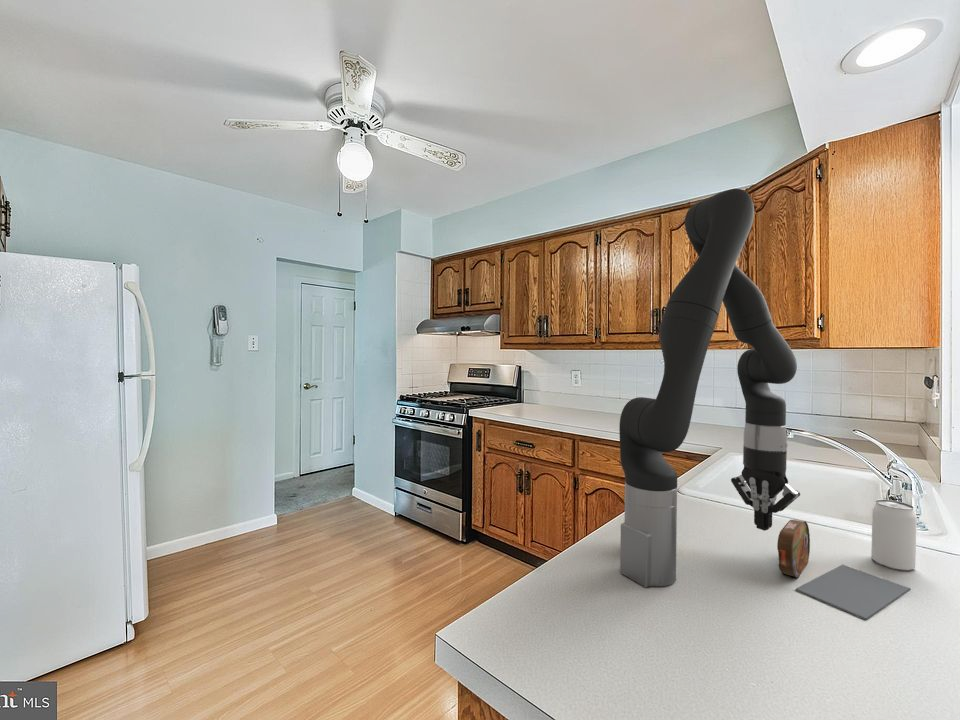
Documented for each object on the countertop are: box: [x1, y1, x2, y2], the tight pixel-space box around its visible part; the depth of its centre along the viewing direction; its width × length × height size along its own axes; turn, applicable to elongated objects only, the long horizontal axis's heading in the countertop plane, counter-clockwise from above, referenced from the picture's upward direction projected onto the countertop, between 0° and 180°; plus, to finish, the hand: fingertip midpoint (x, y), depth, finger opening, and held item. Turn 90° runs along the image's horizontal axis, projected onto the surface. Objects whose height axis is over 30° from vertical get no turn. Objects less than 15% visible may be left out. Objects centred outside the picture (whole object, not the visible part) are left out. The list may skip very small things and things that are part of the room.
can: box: [870, 498, 918, 572], centre depth 89 cm, size 6×6×12 cm
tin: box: [776, 519, 811, 578], centre depth 87 cm, size 15×3×8 cm, turn 134°
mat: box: [795, 564, 911, 621], centre depth 79 cm, size 18×10×1 cm, turn 120°
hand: (763, 528), depth 92 cm, fingers closed
